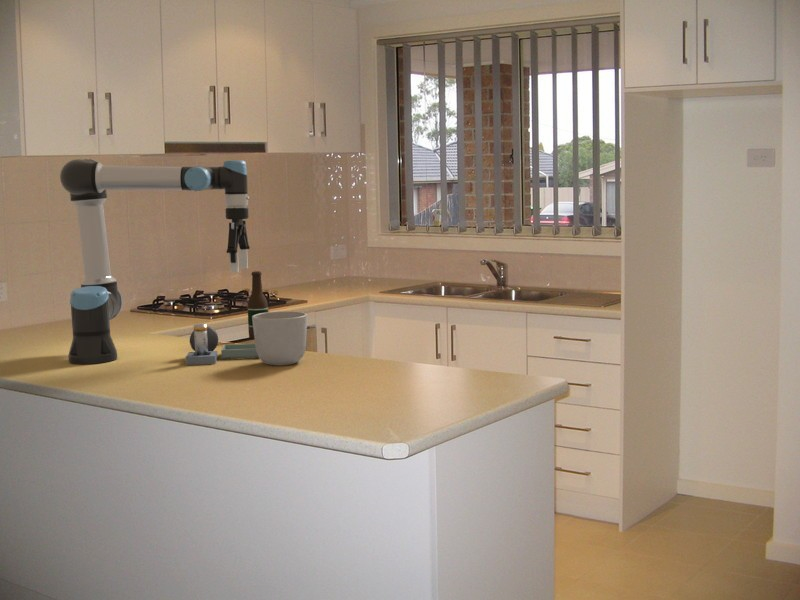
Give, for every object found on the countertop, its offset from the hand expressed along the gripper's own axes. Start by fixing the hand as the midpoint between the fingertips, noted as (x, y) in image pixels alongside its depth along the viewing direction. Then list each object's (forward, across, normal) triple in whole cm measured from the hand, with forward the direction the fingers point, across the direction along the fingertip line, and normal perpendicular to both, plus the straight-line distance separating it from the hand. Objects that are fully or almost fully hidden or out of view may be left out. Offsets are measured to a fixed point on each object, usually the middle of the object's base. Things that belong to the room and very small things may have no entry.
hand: (239, 270), depth 339 cm
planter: (+27, -26, -19) cm, 42 cm away
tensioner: (+27, -19, +8) cm, 34 cm away
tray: (+26, -13, -4) cm, 30 cm away
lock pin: (+27, -23, +8) cm, 36 cm away
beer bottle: (+27, +22, -1) cm, 35 cm away
